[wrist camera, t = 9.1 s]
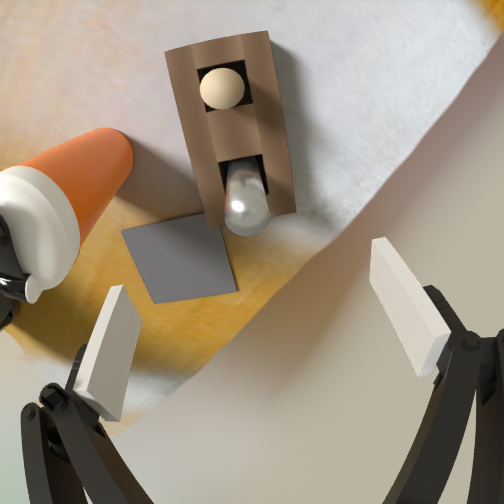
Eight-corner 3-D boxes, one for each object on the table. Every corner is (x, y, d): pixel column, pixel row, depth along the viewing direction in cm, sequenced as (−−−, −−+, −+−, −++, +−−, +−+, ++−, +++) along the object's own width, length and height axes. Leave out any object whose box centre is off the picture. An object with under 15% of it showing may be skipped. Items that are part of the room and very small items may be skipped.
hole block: (211, 210, 34) (208, 227, 31) (173, 54, 24) (164, 51, 21) (289, 196, 34) (296, 212, 30) (263, 36, 24) (267, 30, 20)
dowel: (214, 101, 27) (205, 113, 19) (208, 73, 26) (195, 73, 17) (244, 95, 27) (248, 105, 19) (238, 67, 26) (240, 64, 17)
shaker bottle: (140, 115, 27) (26, 186, 11) (145, 193, 32) (71, 324, 16) (68, 123, 27) (-62, 199, 10) (78, 195, 32) (-18, 308, 15)
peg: (231, 182, 32) (229, 240, 22) (225, 155, 31) (220, 201, 21) (260, 177, 32) (272, 232, 22) (255, 149, 30) (266, 192, 21)
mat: (154, 302, 41) (154, 304, 41) (122, 230, 35) (121, 231, 34) (236, 289, 41) (236, 291, 40) (215, 209, 34) (215, 211, 34)
